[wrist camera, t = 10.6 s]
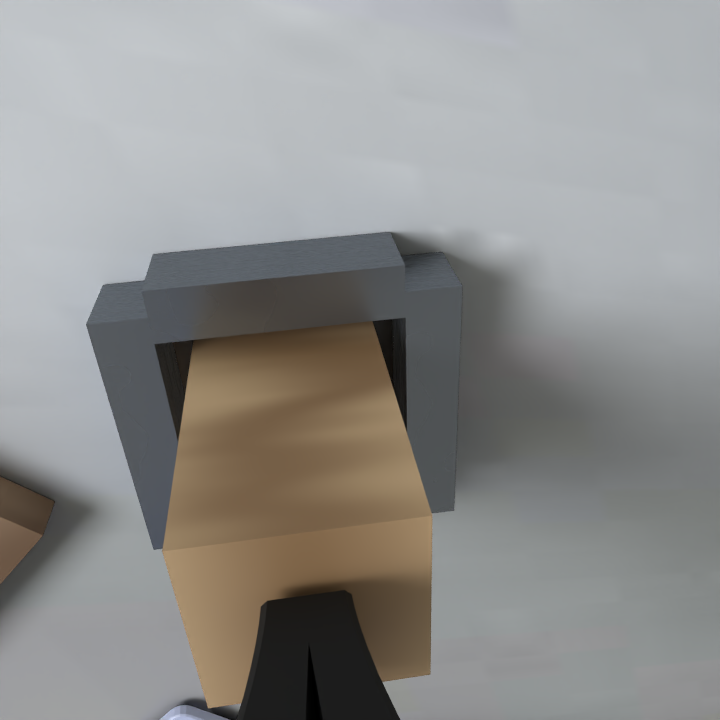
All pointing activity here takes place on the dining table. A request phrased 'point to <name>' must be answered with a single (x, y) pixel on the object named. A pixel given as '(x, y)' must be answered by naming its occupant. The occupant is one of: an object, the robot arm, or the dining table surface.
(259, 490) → the oak peg
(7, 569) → the stand collar
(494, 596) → the dining table surface
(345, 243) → the socket block
